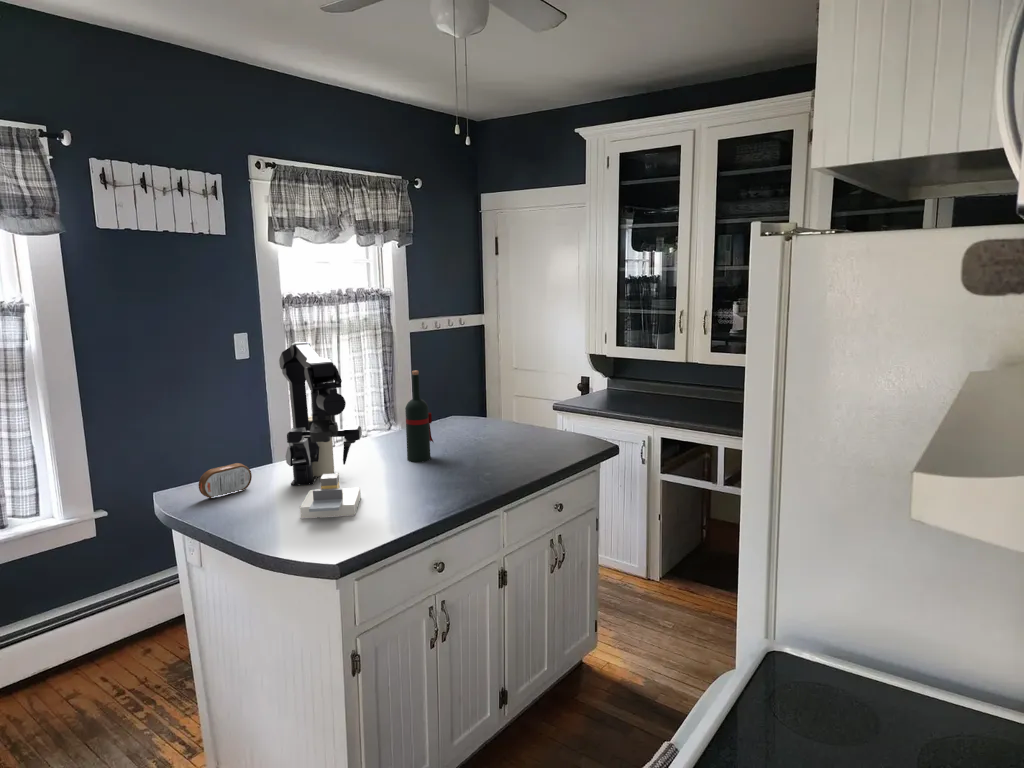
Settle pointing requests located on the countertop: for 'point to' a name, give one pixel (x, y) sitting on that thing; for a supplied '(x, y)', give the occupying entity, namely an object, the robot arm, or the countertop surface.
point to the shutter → (326, 500)
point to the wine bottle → (418, 425)
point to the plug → (330, 481)
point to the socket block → (347, 509)
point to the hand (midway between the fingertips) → (326, 464)
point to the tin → (224, 480)
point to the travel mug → (323, 457)
